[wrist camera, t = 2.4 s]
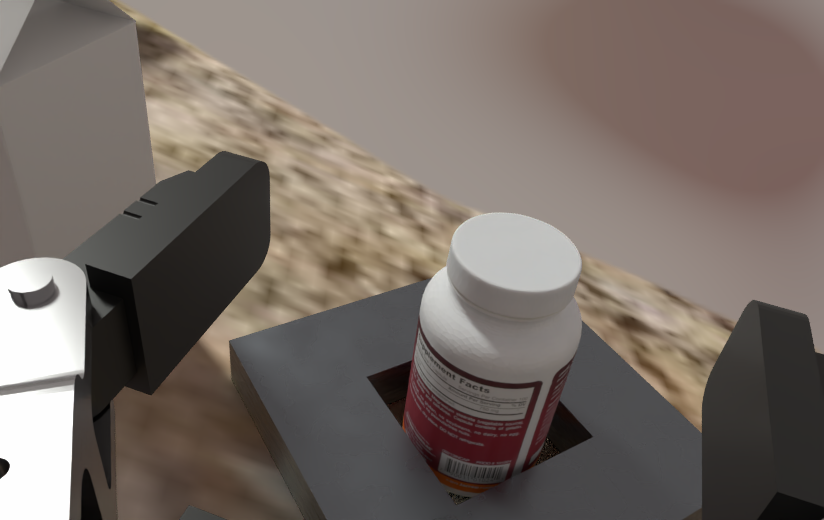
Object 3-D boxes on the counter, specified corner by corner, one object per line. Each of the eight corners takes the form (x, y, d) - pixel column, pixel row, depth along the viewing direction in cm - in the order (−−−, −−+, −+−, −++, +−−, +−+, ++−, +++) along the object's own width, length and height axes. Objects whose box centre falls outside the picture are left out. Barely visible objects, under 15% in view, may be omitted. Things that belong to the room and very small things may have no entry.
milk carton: (56, 270, 37) (-47, -134, 26) (174, 311, 36) (122, -96, 24) (-56, 360, 32) (-251, -100, 20) (77, 412, 31) (-49, -49, 19)
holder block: (407, 716, 23) (417, 685, 21) (231, 378, 33) (229, 340, 31) (725, 512, 30) (748, 478, 29) (502, 287, 40) (511, 253, 39)
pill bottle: (480, 373, 35) (528, 185, 28) (565, 466, 31) (643, 275, 25) (373, 420, 32) (398, 222, 25) (452, 529, 28) (506, 331, 22)
